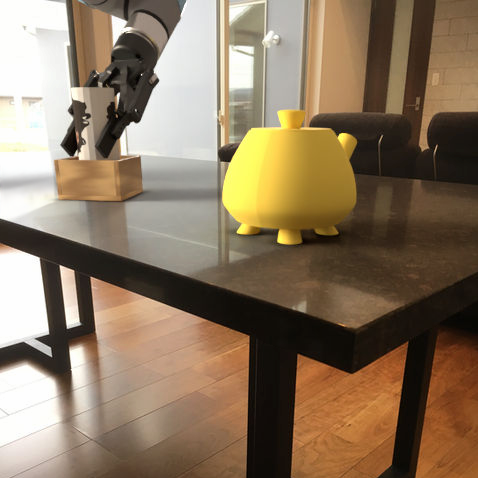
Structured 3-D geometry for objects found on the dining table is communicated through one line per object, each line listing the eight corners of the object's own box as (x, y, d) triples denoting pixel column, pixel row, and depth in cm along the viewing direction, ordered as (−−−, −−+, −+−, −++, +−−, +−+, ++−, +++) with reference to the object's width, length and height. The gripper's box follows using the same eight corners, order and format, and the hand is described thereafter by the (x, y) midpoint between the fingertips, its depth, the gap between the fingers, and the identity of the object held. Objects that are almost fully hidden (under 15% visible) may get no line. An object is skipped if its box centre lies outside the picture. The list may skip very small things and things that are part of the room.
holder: (58, 199, 86) (53, 159, 83) (86, 190, 96) (82, 154, 93) (121, 201, 84) (118, 160, 82) (143, 191, 94) (140, 155, 92)
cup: (124, 180, 93) (116, 89, 87) (119, 185, 86) (110, 87, 81) (85, 181, 92) (75, 88, 86) (78, 186, 86) (66, 87, 80)
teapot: (303, 211, 76) (308, 109, 70) (398, 227, 65) (412, 109, 60) (196, 231, 63) (192, 109, 58) (293, 255, 52) (299, 109, 47)
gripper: (194, 64, 90) (143, 170, 83) (107, 68, 99) (54, 164, 92) (175, 26, 84) (118, 136, 77) (84, 34, 93) (25, 133, 85)
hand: (83, 151), depth 84 cm, fingers closed on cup, 7 cm apart
